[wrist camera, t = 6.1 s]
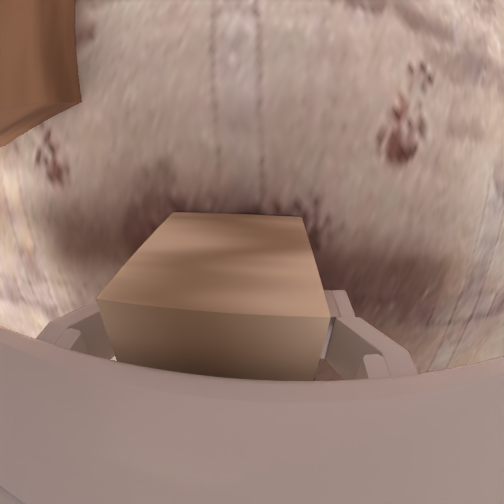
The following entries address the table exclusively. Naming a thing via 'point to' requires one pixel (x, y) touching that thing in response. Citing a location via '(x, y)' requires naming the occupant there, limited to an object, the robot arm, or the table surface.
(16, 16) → the bottom block
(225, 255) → the maple block
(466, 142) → the table surface
